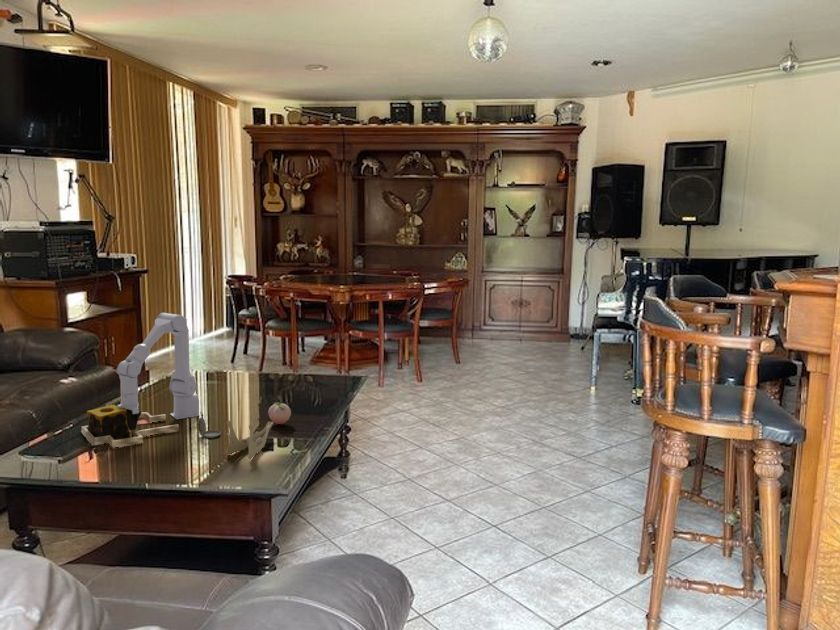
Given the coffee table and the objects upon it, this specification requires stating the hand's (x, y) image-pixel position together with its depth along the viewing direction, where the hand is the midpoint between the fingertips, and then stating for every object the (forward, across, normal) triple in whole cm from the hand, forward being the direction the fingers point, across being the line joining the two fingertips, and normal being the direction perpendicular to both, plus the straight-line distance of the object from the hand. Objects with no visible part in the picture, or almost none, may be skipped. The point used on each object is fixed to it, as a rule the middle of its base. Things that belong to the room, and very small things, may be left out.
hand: (130, 427), depth 228 cm
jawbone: (+3, +40, +31) cm, 51 cm away
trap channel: (+2, 0, +1) cm, 2 cm away
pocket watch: (+2, +19, +22) cm, 29 cm away
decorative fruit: (+3, +22, +51) cm, 55 cm away
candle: (+2, 0, -8) cm, 8 cm away
